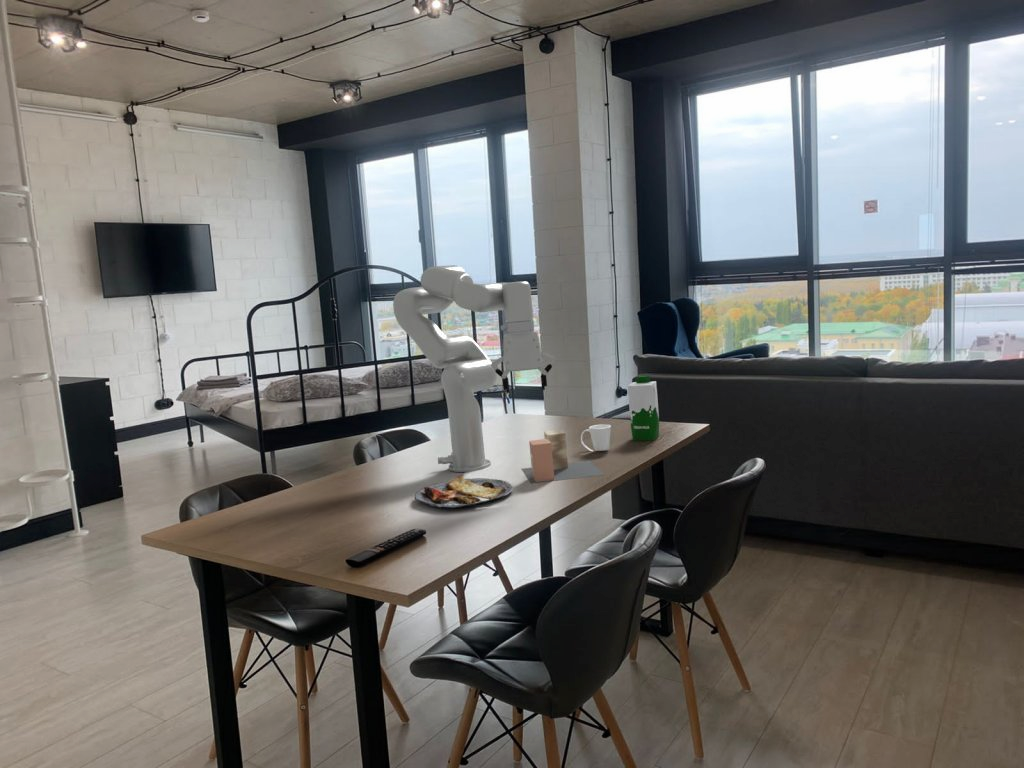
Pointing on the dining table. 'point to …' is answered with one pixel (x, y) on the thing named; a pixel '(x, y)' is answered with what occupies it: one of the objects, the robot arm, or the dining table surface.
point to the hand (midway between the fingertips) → (525, 390)
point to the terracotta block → (541, 460)
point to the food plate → (463, 492)
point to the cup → (599, 437)
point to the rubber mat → (569, 472)
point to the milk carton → (643, 409)
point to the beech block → (558, 448)
